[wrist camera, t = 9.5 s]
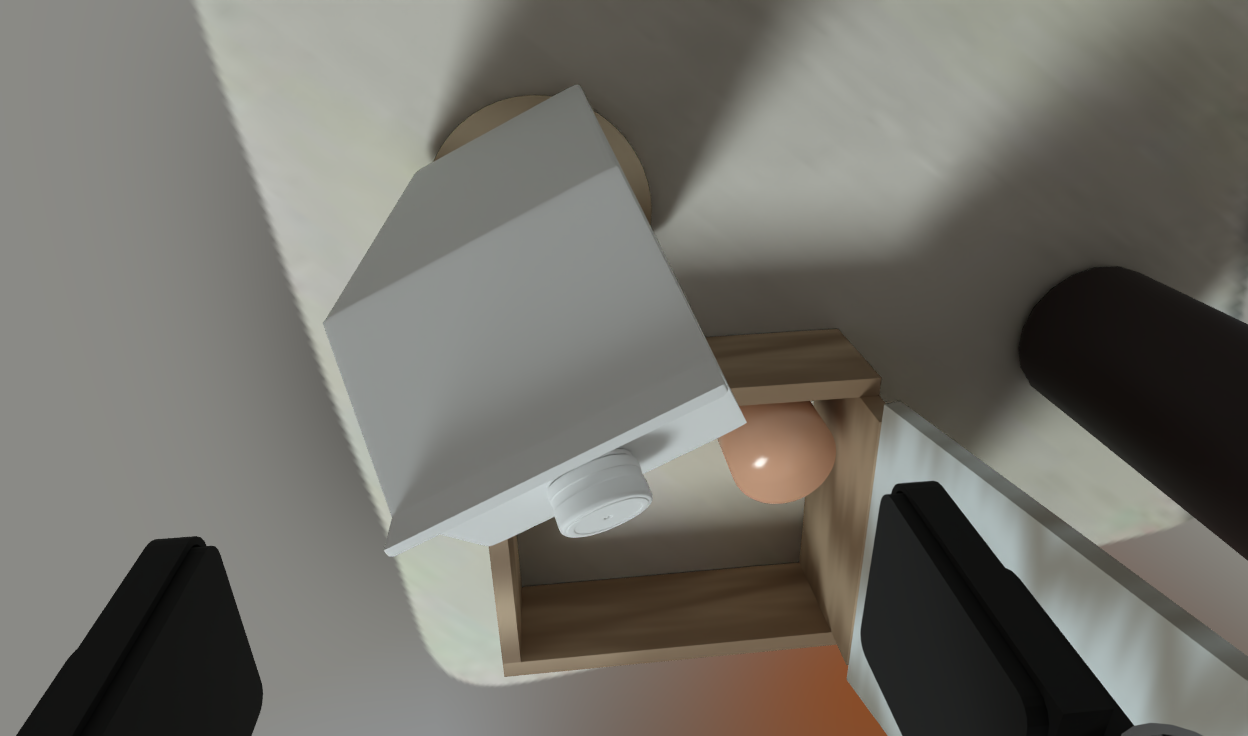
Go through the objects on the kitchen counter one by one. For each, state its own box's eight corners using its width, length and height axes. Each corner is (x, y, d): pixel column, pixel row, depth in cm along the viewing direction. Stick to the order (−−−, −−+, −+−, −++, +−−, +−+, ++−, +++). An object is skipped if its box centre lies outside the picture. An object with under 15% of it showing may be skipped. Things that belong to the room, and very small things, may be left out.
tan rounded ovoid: (707, 362, 36) (732, 416, 32) (802, 356, 36) (840, 408, 32) (706, 446, 38) (729, 507, 34) (796, 439, 38) (831, 499, 34)
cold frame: (479, 351, 35) (412, 826, 15) (903, 324, 36) (1336, 722, 17) (507, 600, 41) (485, 1166, 21) (869, 568, 42) (1156, 1067, 23)
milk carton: (413, 171, 30) (264, 410, 13) (578, 81, 30) (640, 214, 13) (508, 322, 34) (484, 672, 16) (659, 244, 33) (798, 527, 16)
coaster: (410, 99, 30) (408, 101, 29) (648, 90, 31) (650, 92, 30) (440, 321, 34) (438, 327, 33) (650, 308, 35) (652, 314, 34)
